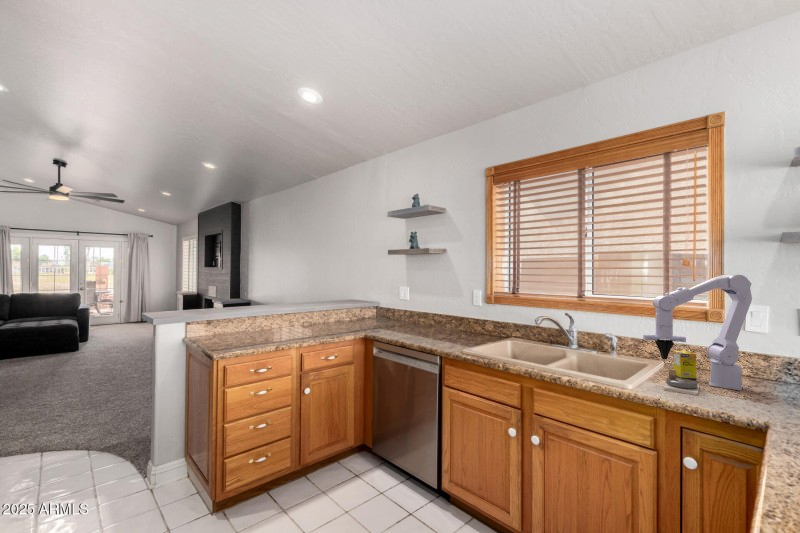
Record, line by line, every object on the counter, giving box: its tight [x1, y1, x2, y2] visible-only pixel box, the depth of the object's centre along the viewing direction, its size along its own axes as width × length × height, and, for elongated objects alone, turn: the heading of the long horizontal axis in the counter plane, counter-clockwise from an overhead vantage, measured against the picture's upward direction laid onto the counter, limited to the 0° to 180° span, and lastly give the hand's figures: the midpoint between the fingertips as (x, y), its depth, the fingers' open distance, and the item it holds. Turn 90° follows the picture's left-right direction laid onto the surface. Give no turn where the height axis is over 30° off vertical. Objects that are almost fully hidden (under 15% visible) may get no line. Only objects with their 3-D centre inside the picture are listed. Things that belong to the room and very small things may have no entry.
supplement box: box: [672, 350, 697, 381], centre depth 159 cm, size 6×6×11 cm
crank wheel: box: [665, 368, 699, 389], centre depth 144 cm, size 10×10×5 cm
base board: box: [663, 382, 700, 396], centre depth 144 cm, size 10×13×1 cm
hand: (664, 358), depth 153 cm, fingers closed
